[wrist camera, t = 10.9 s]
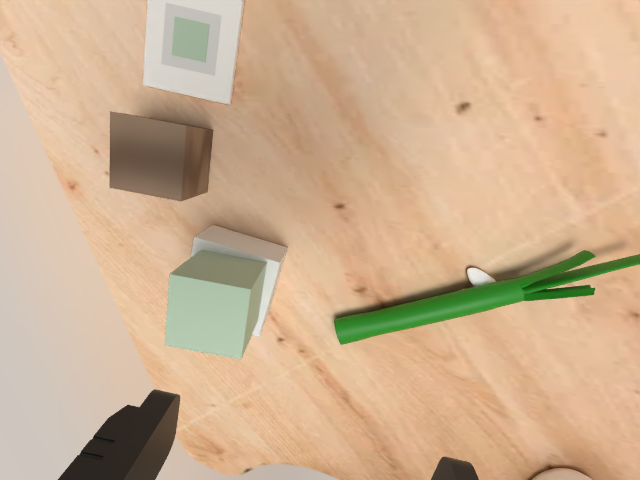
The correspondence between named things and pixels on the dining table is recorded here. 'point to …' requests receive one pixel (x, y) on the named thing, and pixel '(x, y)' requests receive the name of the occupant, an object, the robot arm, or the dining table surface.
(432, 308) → the green onion
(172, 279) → the sage block
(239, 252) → the grey base block
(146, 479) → the robot arm
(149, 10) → the card
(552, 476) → the alcohol
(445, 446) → the dining table surface
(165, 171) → the walnut block
